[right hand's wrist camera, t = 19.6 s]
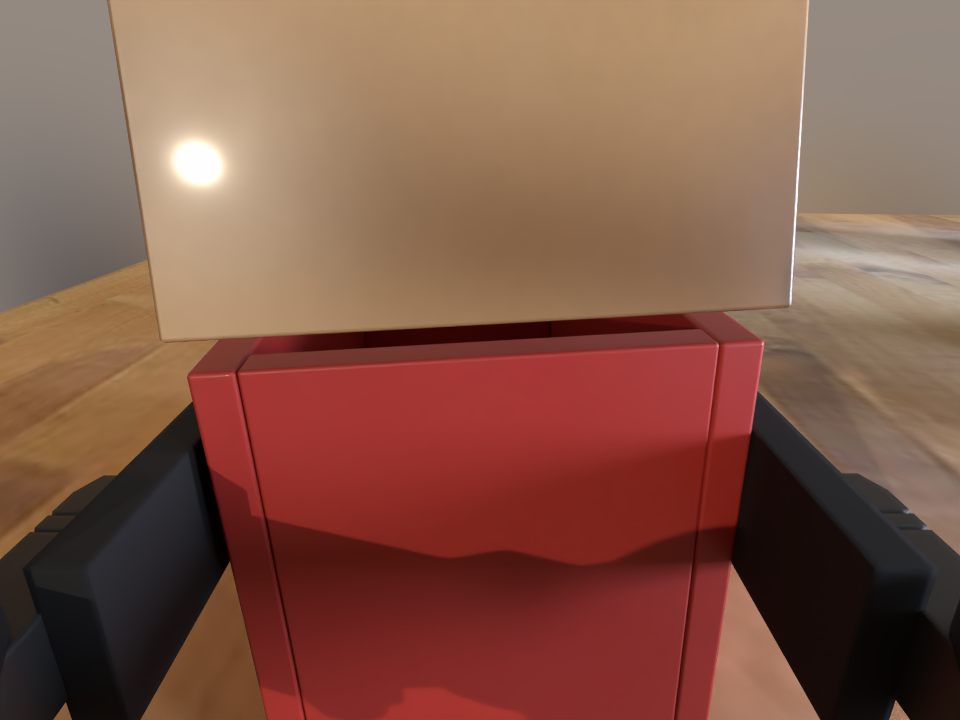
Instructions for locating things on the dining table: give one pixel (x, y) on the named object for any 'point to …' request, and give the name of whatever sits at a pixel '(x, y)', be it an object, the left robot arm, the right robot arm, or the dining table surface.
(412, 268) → the lid
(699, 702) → the chest
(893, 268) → the dining table surface
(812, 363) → the dining table surface
